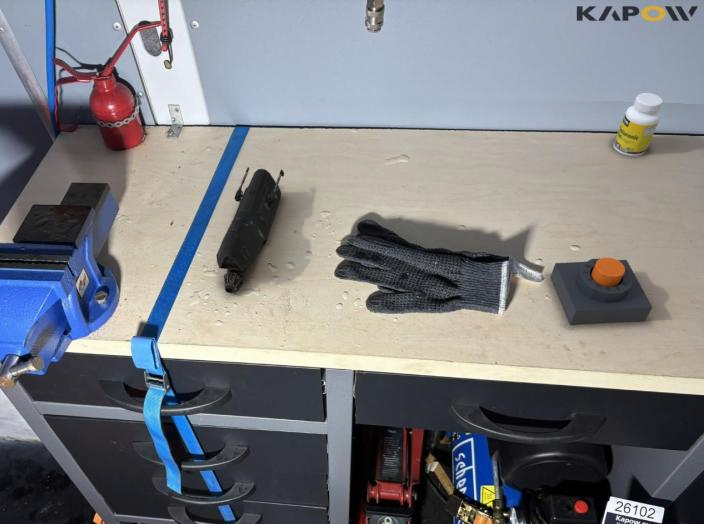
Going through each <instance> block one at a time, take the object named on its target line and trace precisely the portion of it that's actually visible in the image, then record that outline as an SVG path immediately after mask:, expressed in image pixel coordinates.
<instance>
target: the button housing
mask: <svg viewBox="0 0 704 524" xmlns="http://www.w3.org/2000/svg"><path fill="white" fill-rule="evenodd" d="M599 259H601V257H599V258H591V259H588V260H587V261H573V262H571V261H569V262H555V263H554V265H553V268H552V272H551V274H550V277H549V278H550V280H551V283H552V285H553V288H554V290H555V292H556V295H557V297H558V300H559V303H560V304H561V307H562V309H563V312H564V313H565V314H564V315H565V317H566V319H567V322H568V324H569V326H577V325H579V326H580V325H595V324H596V325H601V324H622V323H641V322H645V321H646V320H647V319H648V316H649V314H650V313H651V311H652V310H653V305H652V304H651V301H650V300H649V298H648V296H647V295H646V293H645V291H644V289H643V287H642V285H641V284H640V282H639V280H638V278H637V277H636V274H635V273H634V271H633V269H632V266H631V265H630V263H629V262H628V260H627V259H617V260H618V261H620V262H621V263H622V264H623V265H624V267H625V272H624V274H623V276H622V278H621V280H620V282H619V284H618V285H616V286H614V287H606V286H603V285H600V284H598V283H597V282H596V281H594V280H593V278H592V275H591V274H592V271H593V269H594V267H595V264H596V262H597V261H598V260H599Z"/></svg>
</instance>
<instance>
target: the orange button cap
mask: <svg viewBox="0 0 704 524" xmlns="http://www.w3.org/2000/svg"><path fill="white" fill-rule="evenodd" d="M600 258H601V257H600ZM600 258H598V259H599V260H598V261H597V262H596V264H595V267H594V269H593V271H592V274H591V275H592V278H593V280H594V281H596V282H597V283H598V284H600V285H603V286H606V287H614V286H616V285H618V284H619V282H620V280H621V278H622V276H623V274H624V272H625V267H624V265H623V264H622V263H621V262H620V261H618V260H619V259H616V258H613V257H602V258H601V259H600Z"/></svg>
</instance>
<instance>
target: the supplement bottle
mask: <svg viewBox="0 0 704 524" xmlns="http://www.w3.org/2000/svg"><path fill="white" fill-rule="evenodd" d="M662 104H663V98H662V97H661V96H659V95H658V94H656V93H651V92H642V93H639V94H638V95H637V96H636V98H635V100H634V102H633V105H631V106H629V107H628V108H627V110H626V111H625V113H624V116H623V119H622V121H621V124H620V125H619V129H618V132H617V134H616V137H615V139H614V141H613V148H614V149H615V151H617V152H618V153H620V154H621V155H622V154H623V155H626V156H630V157H639V156H641V155H643V154H645V153H646V151H647V149H648V148H649V145H650V143H651V141H652V139H653V136H654V134H655V132H656V129H657V127H658V125H659V122H660V120H661V117H662V114H661V112H660V109H661V107H662Z"/></svg>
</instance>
